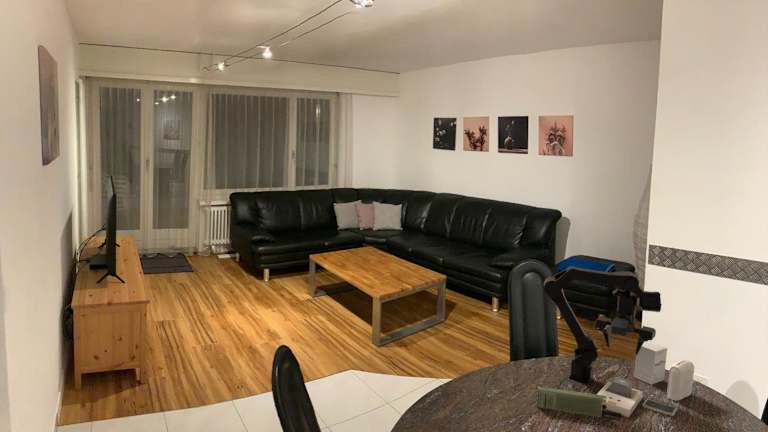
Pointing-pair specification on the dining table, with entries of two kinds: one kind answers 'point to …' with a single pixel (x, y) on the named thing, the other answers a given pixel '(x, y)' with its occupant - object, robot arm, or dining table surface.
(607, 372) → the dining table surface
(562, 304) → the robot arm
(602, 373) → the dining table surface
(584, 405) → the handheld radio
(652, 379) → the supplement box
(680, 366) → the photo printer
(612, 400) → the white grey flat device
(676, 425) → the dining table surface
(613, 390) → the block
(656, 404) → the phone slab
